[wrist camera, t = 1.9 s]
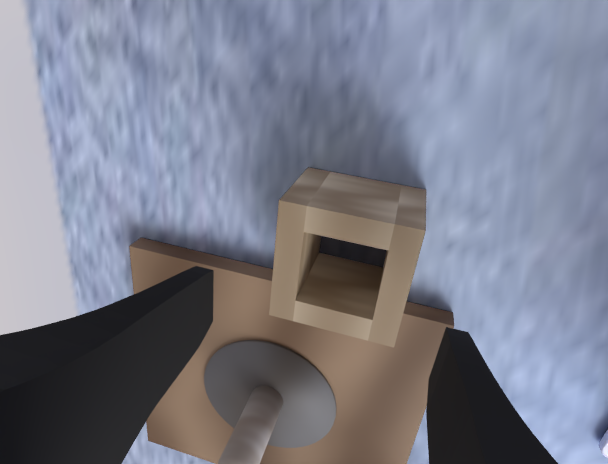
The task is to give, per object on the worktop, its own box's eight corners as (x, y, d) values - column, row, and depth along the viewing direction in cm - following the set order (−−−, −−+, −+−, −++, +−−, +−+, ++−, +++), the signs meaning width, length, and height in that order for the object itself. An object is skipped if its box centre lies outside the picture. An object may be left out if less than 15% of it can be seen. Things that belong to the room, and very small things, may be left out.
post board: (453, 312, 19) (460, 406, 14) (388, 505, 26) (378, 612, 21) (141, 237, 22) (61, 295, 17) (156, 428, 29) (102, 507, 24)
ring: (426, 189, 17) (425, 230, 14) (400, 290, 19) (394, 347, 16) (307, 167, 18) (279, 200, 14) (296, 265, 20) (269, 314, 17)
